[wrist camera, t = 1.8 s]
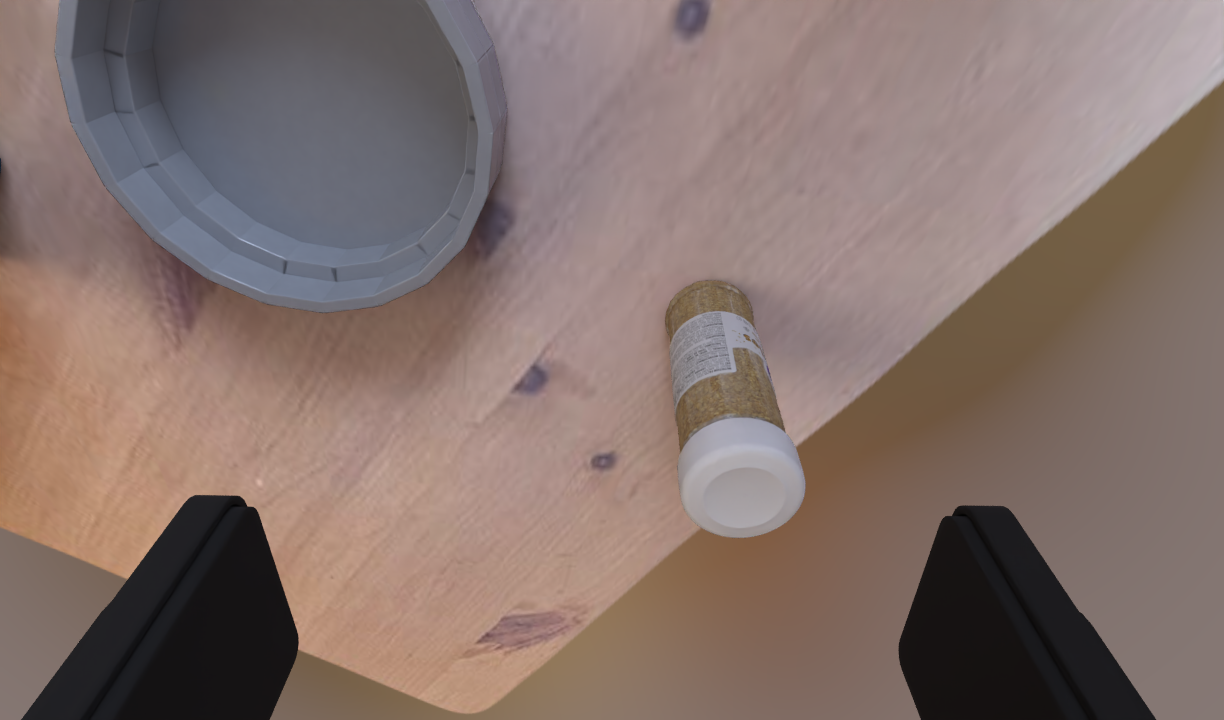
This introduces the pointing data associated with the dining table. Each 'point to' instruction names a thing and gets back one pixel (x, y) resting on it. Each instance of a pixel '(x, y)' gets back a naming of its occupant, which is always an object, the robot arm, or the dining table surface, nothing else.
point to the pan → (291, 136)
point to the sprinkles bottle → (728, 417)
